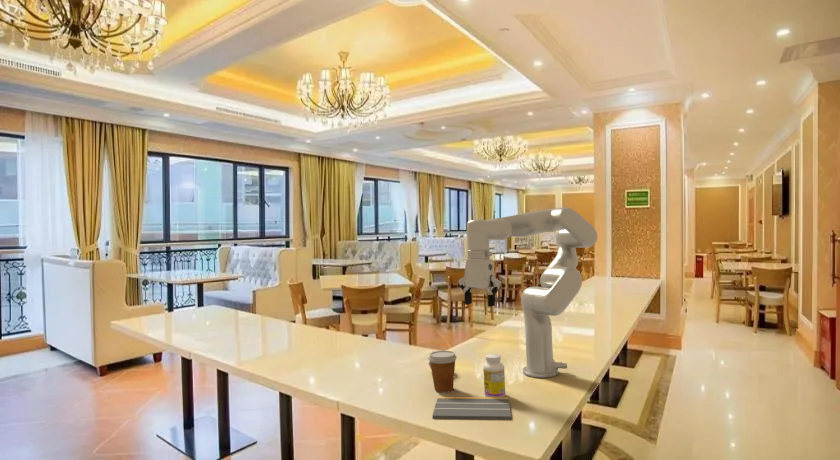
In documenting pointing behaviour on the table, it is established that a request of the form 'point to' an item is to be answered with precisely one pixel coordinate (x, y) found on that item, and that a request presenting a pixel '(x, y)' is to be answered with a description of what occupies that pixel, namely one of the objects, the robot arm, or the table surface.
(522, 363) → the table surface
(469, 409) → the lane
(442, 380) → the disposable coffee cup
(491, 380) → the supplement bottle
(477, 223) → the robot arm
